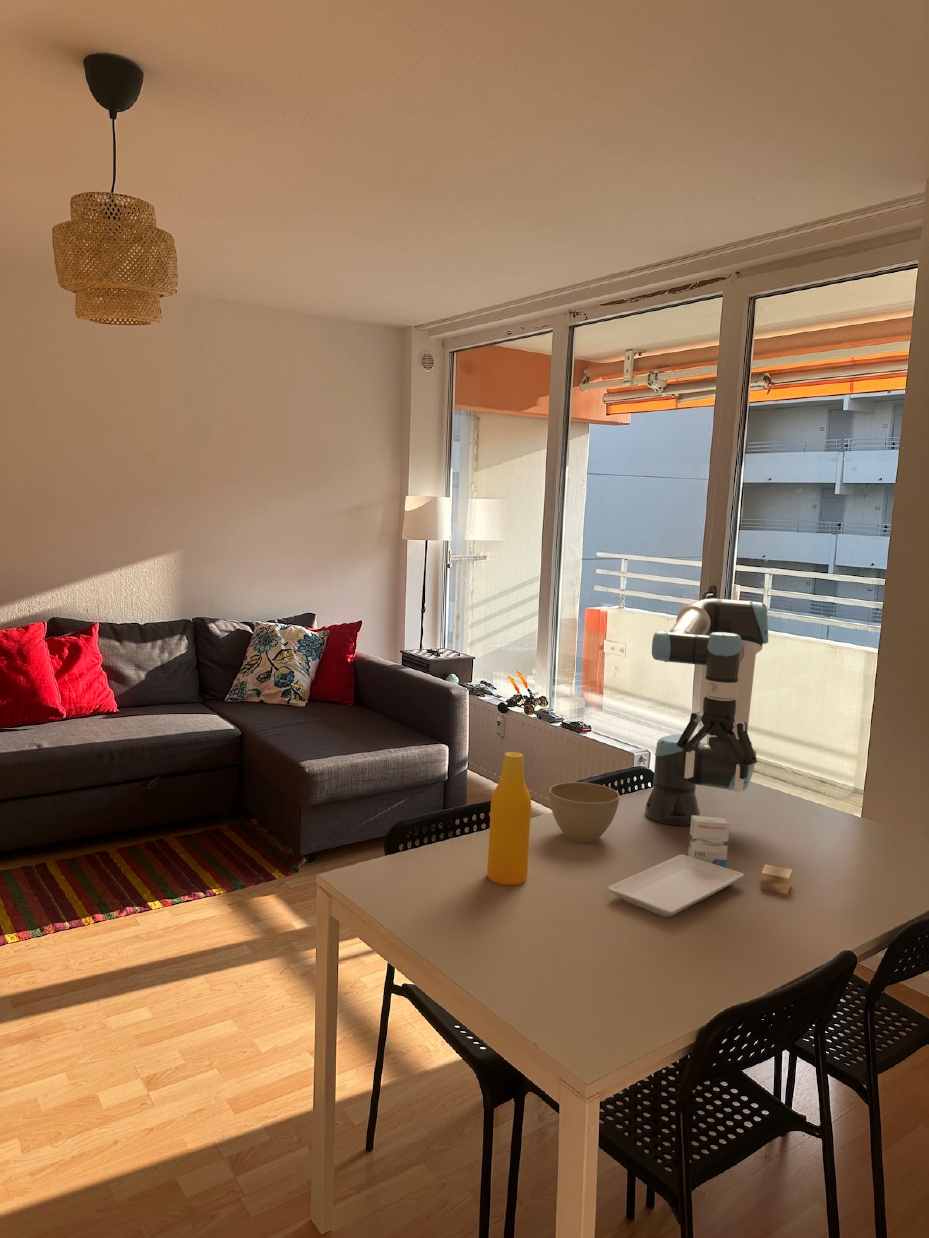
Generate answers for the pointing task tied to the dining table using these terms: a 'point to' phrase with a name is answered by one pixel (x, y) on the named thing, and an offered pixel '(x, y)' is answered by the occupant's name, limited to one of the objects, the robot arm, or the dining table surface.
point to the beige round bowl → (583, 809)
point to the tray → (674, 884)
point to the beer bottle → (509, 824)
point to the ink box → (709, 839)
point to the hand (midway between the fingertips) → (712, 784)
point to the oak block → (776, 879)
